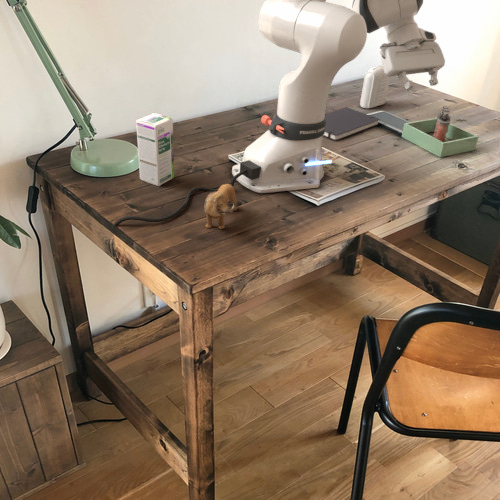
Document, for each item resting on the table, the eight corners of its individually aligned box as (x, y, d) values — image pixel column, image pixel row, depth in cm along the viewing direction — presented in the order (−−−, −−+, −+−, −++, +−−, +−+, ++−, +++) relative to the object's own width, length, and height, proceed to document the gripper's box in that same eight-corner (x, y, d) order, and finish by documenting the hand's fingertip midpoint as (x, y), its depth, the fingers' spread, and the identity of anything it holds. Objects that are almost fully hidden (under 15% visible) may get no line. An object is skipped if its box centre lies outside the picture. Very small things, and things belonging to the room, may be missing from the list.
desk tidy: (440, 157, 152) (443, 143, 150) (401, 136, 163) (404, 123, 161) (474, 150, 158) (478, 136, 156) (435, 130, 169) (438, 117, 167)
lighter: (444, 149, 157) (454, 114, 152) (432, 147, 158) (441, 112, 152) (442, 138, 164) (451, 104, 158) (430, 137, 164) (438, 103, 159)
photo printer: (376, 100, 189) (383, 62, 182) (386, 103, 187) (394, 65, 180) (357, 106, 183) (363, 67, 176) (368, 110, 180) (375, 70, 174)
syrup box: (158, 187, 129) (157, 125, 121) (138, 179, 131) (135, 118, 123) (174, 178, 133) (173, 118, 125) (154, 171, 135) (152, 111, 127)
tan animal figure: (226, 240, 112) (228, 199, 107) (199, 236, 112) (200, 195, 107) (239, 204, 124) (241, 166, 119) (215, 201, 125) (216, 163, 120)
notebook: (345, 111, 178) (300, 127, 165) (346, 106, 177) (301, 121, 164) (379, 124, 171) (335, 140, 158) (380, 119, 170) (336, 135, 157)
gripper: (384, 37, 155) (401, 84, 153) (439, 33, 164) (456, 77, 162) (371, 50, 160) (387, 95, 159) (424, 45, 169) (440, 88, 168)
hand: (422, 86), depth 161 cm, fingers open, 8 cm apart
